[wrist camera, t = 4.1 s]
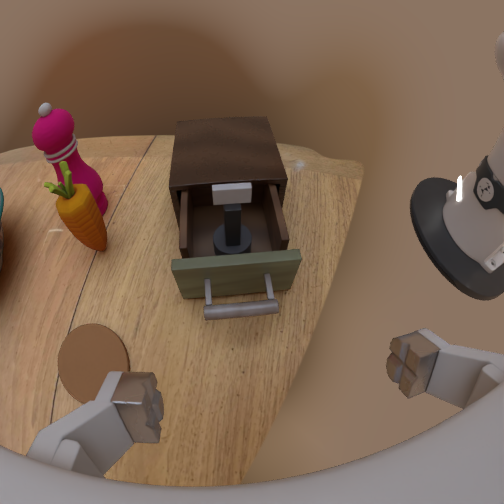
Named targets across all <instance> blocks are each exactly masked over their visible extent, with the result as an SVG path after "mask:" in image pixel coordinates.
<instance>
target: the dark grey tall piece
mask: <svg viewBox="0 0 504 504" xmlns="http://www.w3.org/2000/svg"><path fill="white" fill-rule="evenodd" d="M251 194H252V186H251V183H233V184H219V185H212V195H213V205H222V204H223V208H224V224H223V225H221V226H219V227H218V228H217V229H216V230H215V232H214V235H213V244H214V252H215V255H216V256H220V255H232V254H244V253H250V252H251V242H252V235H251V232H250V231H249V229H248V228H247V227H246V226H244V225H242V224H241V203H250V202H251Z"/></svg>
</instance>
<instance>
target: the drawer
mask: <svg viewBox="0 0 504 504" xmlns="http://www.w3.org/2000/svg"><path fill="white" fill-rule="evenodd" d="M251 186H252V194H251V202H250V203H241V224H242V225H244V226H246V227H247V228H248V229H249V231H250V232H251V235H252V242H251V252H250V253H244V254H232V255H220V256H216V255H215V252H214V244H213V235H214V232H215V230H216V229H217V228H218V227H219V226H221V225H223V224H224V208H223V204H222V205H213V195H212V188H201V189H190V190H181V207H180V237H179V249H180V252H181V255H182V259H172V264H171V270H172V273H173V275H174V278H175V280H176V282H177V285H178V287H179V290H180V292H181V294H182V297H183V299H186V298H200V297H205V300H206V306H204V318H205V320H217V319H228V318H239V317H249V316H258V315H267V314H276V313H278V312H279V305H278V301H277V299H274V293H273V291H276V290H285V289H290V288H291V285H292V283H293V280H294V278H295V275H296V273H297V270H298V268H299V265H300V262H301V260H302V258H301V254H300V250H299V249H292V250H287V246H288V243H289V236H288V232H287V228H286V224H285V220H284V216H283V212H282V208H281V204H280V200H279V197H278V193H277V189H276V185H275V184H260V185H251ZM257 292H266V293H267V299H268V300H262V301H252V302H242V303H231V304H220V305H212V296H224V295H236V294H246V293H257Z"/></svg>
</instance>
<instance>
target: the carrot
mask: <svg viewBox="0 0 504 504" xmlns="http://www.w3.org/2000/svg"><path fill="white" fill-rule="evenodd" d="M59 166H60V169H61V171H62V174H63V176H64V181H65V186H64V185H63V184H62V183H61V182H58V185H59V187H60V188H59V187H58V186H56V185H54V184H52V183H48V182H45V183H44V187H47V188H49V191H50V192H51V193H55V194H57V195H60V196H59V198H58V199H57V201H56V207H57V210H58V213H59V216H60V218H61V219H62V221H63V222H64V223H65V225H66V226H67V227H68V229H69V230H70V231H71V232H72V234H73V235H74V236H75V237H76V238H77V239H78V240H79V241H81V242H82V243H83V244H84V245H86V246H87V247H89V248H91V249H94V250H98V251H103V250H105V248H106V244H107V232H106V228H105V224H104V220H103V217H102V215H101V213H100V210H99V208H98V206H97V204H96V202H95V199H94V197H93V195H92V193H91V192H90V190H89V188H88V186H87V185H86V184H73V183H72V172H71V171H69V168H68V165H67V162H66V161H61V162H60V163H59Z"/></svg>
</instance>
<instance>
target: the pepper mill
mask: <svg viewBox="0 0 504 504" xmlns="http://www.w3.org/2000/svg"><path fill="white" fill-rule="evenodd" d="M51 109H52V108H51V105H50V104H49V103H44V104H42V105H41V106H40V108H39V114H40V116H41V117H40V118H39V119H38V120H37V122H36V123H35V126H34V128H33V132H32V138H33V142H34V144H35V146H36V147H37V148H38V149H39V150H41V151H44V156H45V157H46V161H47V162H48V163H52V165H53V166H54V168H55V171H56V174H57V179H58V182H61V183H62V184H63V185H64V186H65V181H64V176H63V174H62V171H61V169H60V166H59V163H60V162H61V161H66V162H67V165H68V168H69V171H71V172H72V183H73V184H86V185H87V186H88V188H89V190H90V192H91V193H92V195H93V197H94V199H95V202H96V204H97V206H98V208H99V210H100V213H101V215H102V216H103V214H104V213H105V211H106V209H107V206H108V201H107V199H106V196H105V194H104V192H103V191H102V190H103V183H102V180H101V178H100V176H99V175H98V173H97V172H96V171H95V170H94V169H92V168H91V167H90V166H88V165H87V164H86V163H84V161H83V160H82V159H81V157H80V155H79V153H78V151H77V145H78V141H77V140H76V137H75V135H74V134H72V133H73V130H74V121H73V118H72V116H71V114H70V113H69V112H67V111H66V110H63V109H54V110H51ZM58 187H59V185H58ZM59 188H60V187H59ZM59 196H60V195H59Z"/></svg>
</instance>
